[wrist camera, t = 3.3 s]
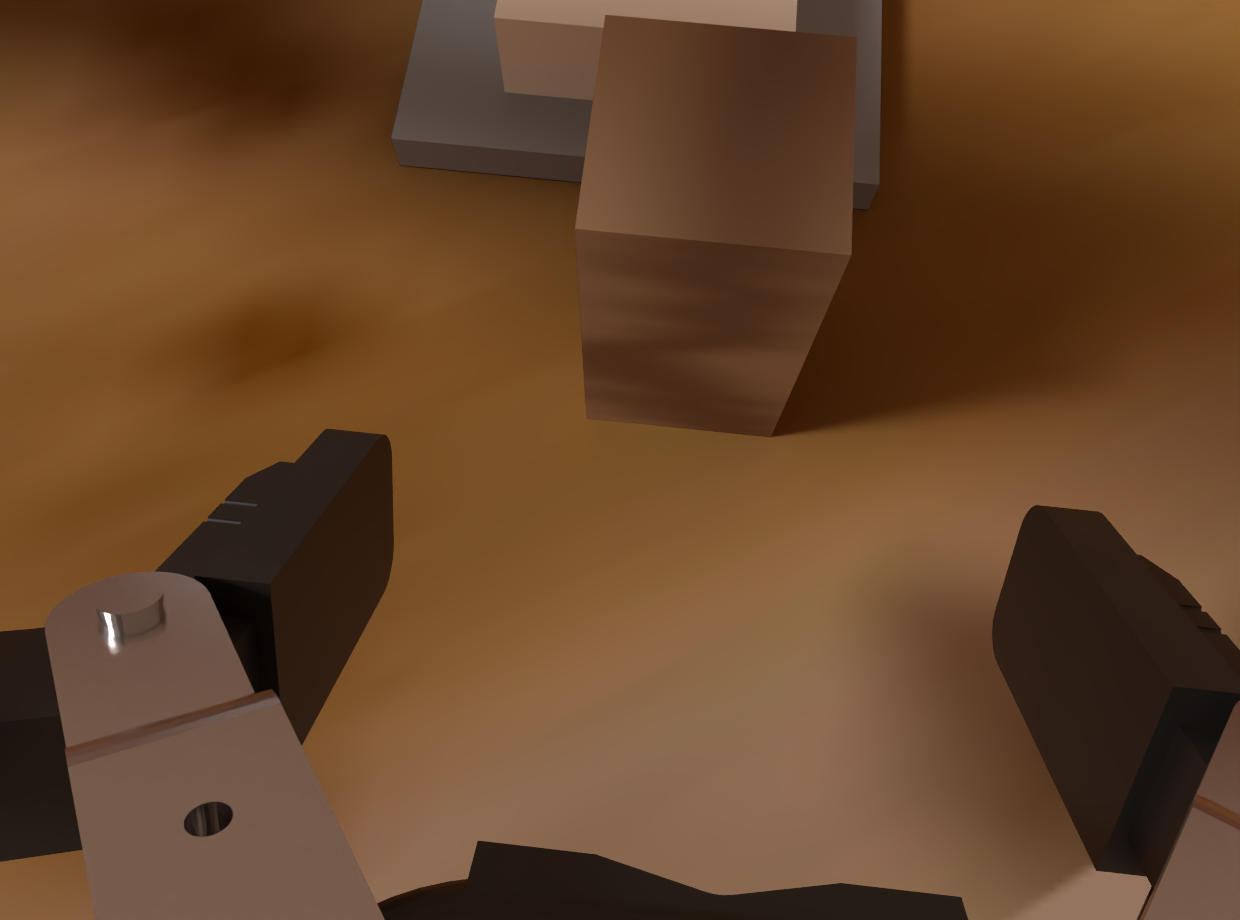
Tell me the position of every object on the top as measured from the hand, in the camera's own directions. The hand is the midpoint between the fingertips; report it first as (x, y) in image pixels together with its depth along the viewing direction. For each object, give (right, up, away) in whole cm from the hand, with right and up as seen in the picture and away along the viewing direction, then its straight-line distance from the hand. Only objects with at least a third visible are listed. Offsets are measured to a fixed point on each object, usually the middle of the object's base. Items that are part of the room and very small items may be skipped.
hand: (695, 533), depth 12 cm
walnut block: (+1, +4, +14) cm, 15 cm away
